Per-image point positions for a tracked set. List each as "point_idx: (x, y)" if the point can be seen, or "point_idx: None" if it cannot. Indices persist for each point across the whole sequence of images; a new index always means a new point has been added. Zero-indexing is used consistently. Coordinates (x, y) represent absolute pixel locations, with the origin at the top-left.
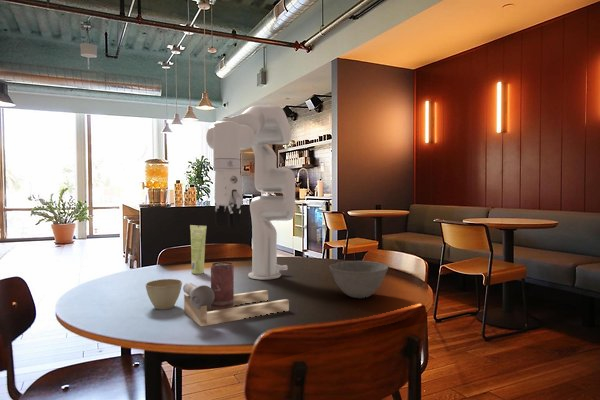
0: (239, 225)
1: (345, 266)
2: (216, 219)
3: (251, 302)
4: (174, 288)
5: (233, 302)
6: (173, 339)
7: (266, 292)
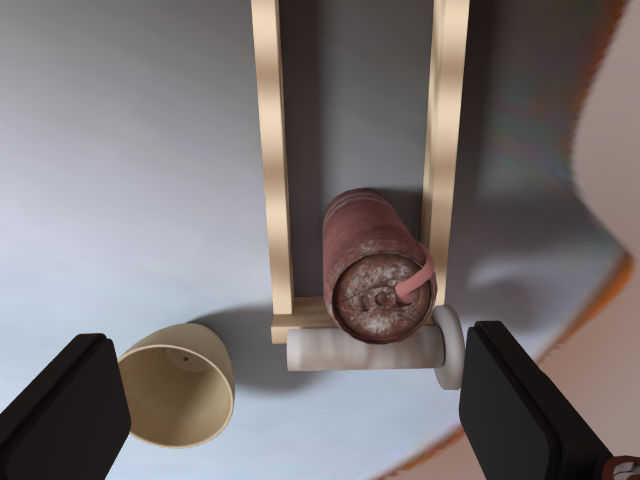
0: (503, 334)
1: None
2: (99, 478)
3: (282, 76)
4: (227, 372)
5: (381, 200)
6: None
7: None
